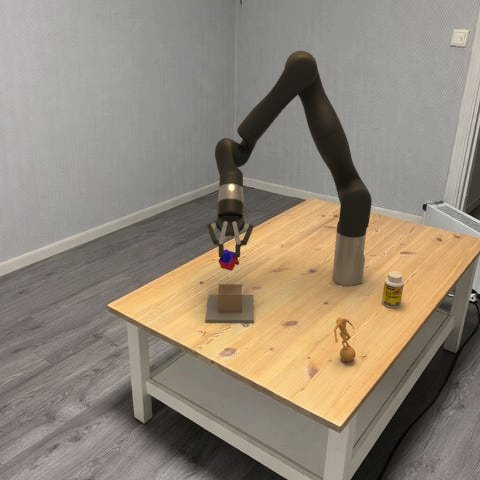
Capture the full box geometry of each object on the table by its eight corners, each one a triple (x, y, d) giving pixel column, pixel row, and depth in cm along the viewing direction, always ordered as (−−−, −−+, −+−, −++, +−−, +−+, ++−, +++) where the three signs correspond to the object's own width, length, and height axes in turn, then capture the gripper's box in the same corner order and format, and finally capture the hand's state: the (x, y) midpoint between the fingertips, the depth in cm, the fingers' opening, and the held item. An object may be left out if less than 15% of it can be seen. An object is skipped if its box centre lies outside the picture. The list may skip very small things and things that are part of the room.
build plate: (253, 297, 165) (253, 277, 162) (254, 322, 152) (254, 302, 149) (208, 297, 165) (207, 277, 162) (205, 322, 152) (204, 301, 149)
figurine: (345, 371, 133) (349, 331, 128) (324, 361, 137) (328, 321, 131) (362, 355, 138) (366, 317, 133) (342, 346, 142) (346, 308, 137)
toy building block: (222, 271, 154) (215, 255, 148) (228, 260, 156) (222, 243, 150) (233, 274, 153) (227, 258, 146) (239, 262, 155) (233, 246, 149)
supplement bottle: (381, 306, 160) (385, 277, 156) (382, 297, 165) (386, 268, 161) (400, 309, 159) (404, 280, 154) (400, 300, 163) (405, 271, 159)
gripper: (205, 197, 152) (203, 254, 146) (255, 197, 152) (254, 254, 146) (207, 207, 159) (205, 262, 153) (254, 208, 159) (254, 263, 153)
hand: (229, 258), depth 149 cm, fingers closed on toy building block, 3 cm apart
